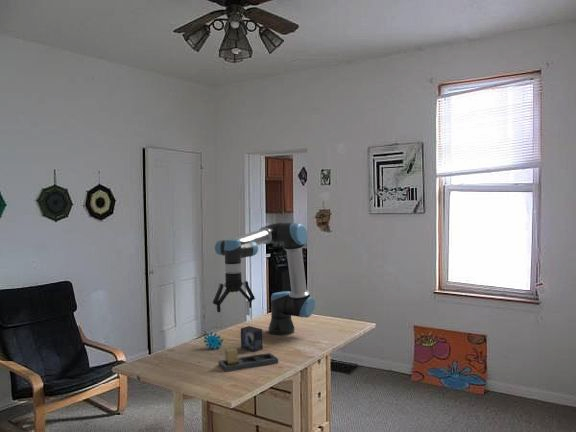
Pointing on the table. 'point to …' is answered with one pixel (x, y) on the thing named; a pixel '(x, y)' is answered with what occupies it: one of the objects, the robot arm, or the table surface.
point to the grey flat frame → (256, 362)
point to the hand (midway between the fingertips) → (234, 316)
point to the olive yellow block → (231, 356)
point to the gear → (213, 341)
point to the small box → (251, 338)
